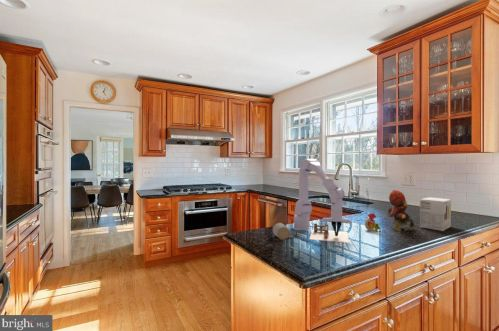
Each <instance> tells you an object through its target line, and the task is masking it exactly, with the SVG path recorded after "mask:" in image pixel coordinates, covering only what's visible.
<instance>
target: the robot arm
mask: <svg viewBox="0 0 499 331" xmlns="http://www.w3.org/2000/svg"><path fill="white" fill-rule="evenodd" d="M311 172H314V173H315V174H317V176H318V177H319V178H320V180H321V181H322V186H323V187H324V188H325V189H326V190H327V192H328V196H329V198H330V210H331V211H330V217H322V222H323V223H325V222H327V223H331V226H332V228H333V231H334V232H335V236H338V232H339V231H340V230H341V227H342V226H343V224H350V225H351V224H352V219H350V218H343V198H344V197H345V191H344V189H343V188H340V187H339V186H338V185H337V183H335V181H334V179H333V178H331V177H328V176H327V173H326V172H325V171H324V169H323V168H322V166H321V162H319V160H318V159H316V158H303V159H302V160H300V161H299V171H298V178H299V179H298V188H299V190H298V191H299V192H298V196H299V198H298V200H297V201H296V202H295V207H294V212H295V214H294V215H293V230H296V231H307V232H308V231H309V232H310V231H311V227H310V216H311V213H312V212H313V207H312V201H310V200H309V174H310V173H311ZM336 231H337V233H336Z"/></svg>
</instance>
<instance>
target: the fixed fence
mask: <svg viewBox="0 0 499 331" xmlns="http://www.w3.org/2000/svg"><path fill="white" fill-rule="evenodd" d="M326 226H327V230H329V223H328V224H327V223H326V224H324V225H323V224H318V223H313V229H314V232H317V231H320V232H322V231H324V229H325V228H326ZM323 228H324V229H323Z"/></svg>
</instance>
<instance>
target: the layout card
mask: <svg viewBox="0 0 499 331" xmlns="http://www.w3.org/2000/svg"><path fill="white" fill-rule="evenodd" d="M336 233H337V230H336ZM309 240H314V241H325V242H327V241H328V242H338V243H350V240H349V232H348V231H340V230H339V232H338V236H335V232H334V230H329V229H328V238H324V231H322V232H320V231H317V232H314V228H313V229H312V230H311V234H310V237H309Z"/></svg>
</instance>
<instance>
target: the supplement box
mask: <svg viewBox="0 0 499 331" xmlns="http://www.w3.org/2000/svg"><path fill="white" fill-rule="evenodd" d="M451 218H452V198H441V197H429V196H428V197H424V198H420V199H419V227H420V228H423V229H429V230H434V231H441V232H444V231H446V230H447V229H449V228H451V226H452V225H451V224H452V223H451V222H452V219H451Z"/></svg>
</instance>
